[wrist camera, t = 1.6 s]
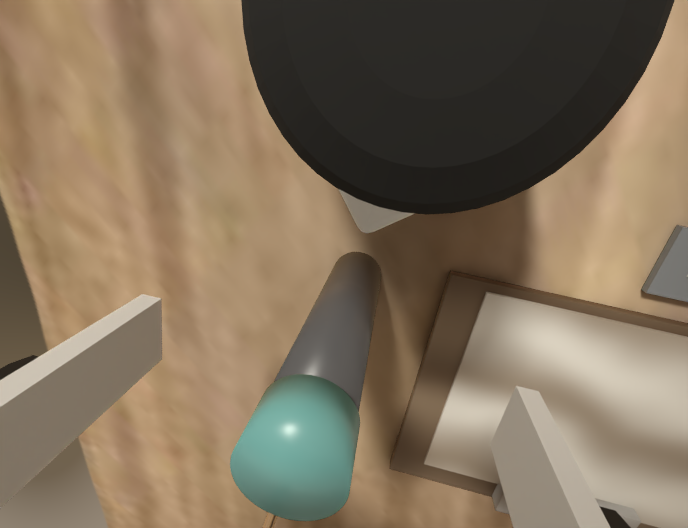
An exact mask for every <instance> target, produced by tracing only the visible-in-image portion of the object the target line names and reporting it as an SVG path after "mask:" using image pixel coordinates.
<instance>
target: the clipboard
mask: <svg viewBox="0 0 688 528" xmlns="http://www.w3.org/2000/svg"><path fill="white" fill-rule="evenodd" d="M516 386H519V387H524V388H528V389H532V390H536V391H539V393H540V394H541V396H542V398H543V400H544V402H545V404H546V406H547V408H548V410H549V412H550V413H551V415H552V417H553V419H554V421H555V423H556V425H557V427H558V429H559V431H560V432H561V434H562V436H563V438H564V440H565V442H566V444H567V446H568V448H569V450H570V451H571V453H572V455H573V457H574V459H575V461H576V463H577V465H578V467H579V469H580V470H581V472H582V474H583V476H584V478H585V480H586V482H587V484H588V486H589V488H590V489H591V491H592V493H593V495H594V497H595V499H596V501H597V503H598V505H599V506H601V507H604V508H608V509H612V510H616V511H617V513H618V514H619V515H620V516H621V517H622V518H623V519H624V520H625V522H626V523H627V524H628V525H629V526H630V527H631V528H688V323H684V322H679V321H675V320H670V319H666V318H661V317H657V316H652V315H648V314H643V313H639V312H634V311H630V310H625V309H621V308H616V307H612V306H607V305H603V304H598V303H594V302H589V301H585V300H580V299H576V298H571V297H567V296H562V295H558V294H553V293H549V292H544V291H540V290H535V289H531V288H526V287H522V286H517V285H513V284H508V283H504V282H499V281H494V280H490V279H485V278H481V277H476V276H472V275H467V274H463V273H458V272H454V271H450V274H449V277H448V280H447V283H446V286H445V290H444V293H443V296H442V299H441V302H440V305H439V309H438V312H437V315H436V318H435V321H434V324H433V328H432V331H431V334H430V337H429V340H428V343H427V347H426V350H425V353H424V356H423V359H422V362H421V366H420V369H419V372H418V375H417V378H416V381H415V385H414V388H413V391H412V394H411V397H410V400H409V404H408V407H407V410H406V413H405V416H404V419H403V423H402V426H401V429H400V432H399V435H398V438H397V442H396V445H395V448H394V451H393V454H392V457H391V461H390V469H392V470H396V471H399V472H403V473H407V474H410V475H414V476H417V477H421V478H425V479H428V480H432V481H436V482H439V483H443V484H447V485H450V486H454V487H458V488H461V489H465V490H469V491H472V492H476V493H479V494H483V495H487V496H490V497H492V499H493V503H494V507H495V510H496V511H499V512H503V513H506V514H509V511H508V507H507V503H506V500H505V496H504V493H503V489H502V485H501V482H500V478H499V475H498V471H497V467H496V464H495V460H494V457H493V453H492V449H491V446H490V444H491V441H492V439H493V437H494V435H495V432H496V430H497V428H498V426H499V423H500V421H501V419H502V416H503V414H504V412H505V410H506V407H507V405H508V403H509V401H510V398H511V396H512V394H513V392H514V389H515V387H516Z"/></svg>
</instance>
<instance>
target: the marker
mask: <svg viewBox="0 0 688 528" xmlns="http://www.w3.org/2000/svg"><path fill="white" fill-rule="evenodd" d="M380 281H381V270H380V267H379V265H378V263H377V262H376V261H375V260H374V259H373V258H372V257H371V256H369V255H367V254H365V253H361V252H351V253H348V254H345V255H343V256H342V257H341V258H340V259H339V260H338V261H337V262H336V264H335V266H334V268H333V270H332V272H331V274H330V275H329V277H328V279H327V281H326V283H325V285H324V287H323V289H322V291H321V293H320V295H319V296H318V298H317V300H316V302H315V304H314V306H313V308H312V310H311V312H310V314H309V316H308V318H307V319H306V321H305V323H304V325H303V327H302V329H301V331H300V333H299V335H298V337H297V339H296V340H295V342H294V344H293V346H292V348H291V350H290V352H289V354H288V356H287V358H286V360H285V362H284V363H283V365H282V367H281V369H280V371H279V373H278V375H277V377H276V379H275V381H274V382H273V383H272V384H271V385H270V386H269V387H268V388H267V389H266V391H265V393H264V394H263V396H262V398H261V400H260V402H259V404H258V405H257V407H256V409H255V411H254V413H253V415H252V417H251V419H250V420H249V422H248V424H247V426H246V428H245V430H244V432H243V433H242V435H241V437H240V439H239V441H238V443H237V445H236V446H235V448H234V450H233V453H232V455H231V461H230V468H231V473H232V476H233V479H234V481H235V483H236V485H237V486H238V488H239V489H240V490H241V492H242V493H243V494H244V495H245V496H246V497H247V498H248V499H249V500H250V501H251V502H253V503H254V504H255V505H257V506H258V507H260V508H261V509H263V510H265V511H267V512H269V513H271V514H273V515H276V516H279V517H282V518H285V519H289V520H296V521H314V520H320V519H324V518H326V517H329V516H331V515H333V514H335V513H336V512H337V511H339V510H340V509H341V508H342V507H343V506H344V504H345V503H346V501H347V499H348V496H349V491H350V485H351V479H352V472H353V466H354V459H355V453H356V447H357V440H358V434H359V427H360V417H359V413H358V412H359V406H360V400H361V394H362V389H363V383H364V377H365V371H366V365H367V359H368V353H369V347H370V341H371V335H372V329H373V323H374V317H375V311H376V305H377V299H378V293H379V287H380Z"/></svg>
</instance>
